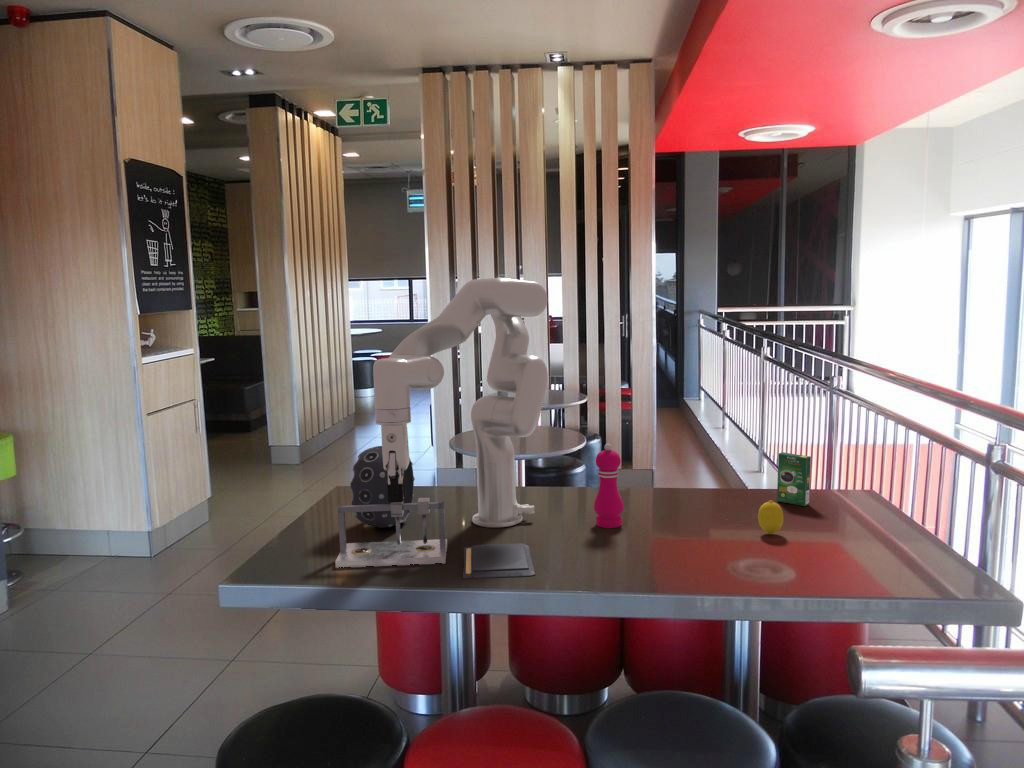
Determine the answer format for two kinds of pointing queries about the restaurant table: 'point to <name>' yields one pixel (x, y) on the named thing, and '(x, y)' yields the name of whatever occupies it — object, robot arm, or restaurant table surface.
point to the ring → (377, 488)
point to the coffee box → (793, 478)
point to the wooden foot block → (397, 516)
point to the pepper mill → (608, 490)
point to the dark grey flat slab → (498, 561)
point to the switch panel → (391, 550)
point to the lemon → (770, 517)
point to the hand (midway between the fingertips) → (396, 498)
